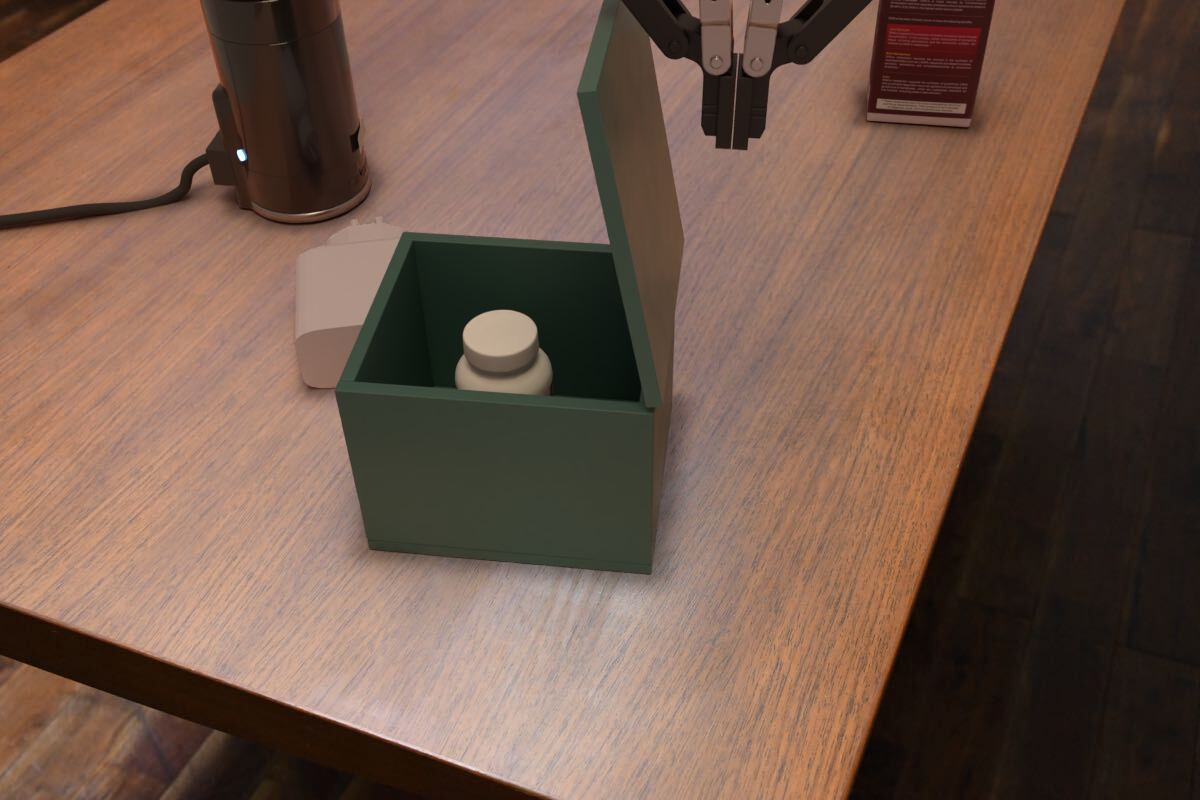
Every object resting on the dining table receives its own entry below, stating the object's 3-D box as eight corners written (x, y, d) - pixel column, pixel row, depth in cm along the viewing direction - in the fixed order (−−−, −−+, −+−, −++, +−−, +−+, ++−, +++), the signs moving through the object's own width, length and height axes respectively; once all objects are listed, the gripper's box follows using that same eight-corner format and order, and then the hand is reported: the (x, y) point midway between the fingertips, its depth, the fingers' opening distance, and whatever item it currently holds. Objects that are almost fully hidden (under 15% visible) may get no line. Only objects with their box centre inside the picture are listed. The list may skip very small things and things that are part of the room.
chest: (368, 549, 67) (333, 390, 59) (426, 386, 77) (402, 230, 69) (651, 575, 65) (654, 414, 57) (672, 404, 75) (677, 247, 67)
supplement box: (967, 101, 102) (1007, -89, 92) (970, 130, 99) (1011, -65, 88) (863, 93, 103) (890, -95, 93) (862, 122, 100) (890, -71, 89)
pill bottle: (545, 500, 68) (536, 371, 62) (454, 487, 69) (436, 358, 62) (566, 434, 72) (560, 306, 65) (480, 423, 73) (465, 295, 66)
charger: (435, 240, 88) (452, 373, 77) (307, 254, 87) (306, 391, 76) (427, 184, 85) (444, 315, 74) (294, 199, 84) (292, 333, 73)
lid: (575, 92, 46) (596, 90, 46) (617, -50, 56) (634, -52, 56) (646, 408, 57) (662, 407, 57) (670, 241, 67) (684, 240, 67)
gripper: (943, -314, 45) (877, 107, 57) (590, -320, 46) (596, 93, 58) (962, -259, 39) (884, 195, 51) (560, -267, 41) (574, 177, 52)
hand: (731, 140), depth 54 cm, fingers closed
